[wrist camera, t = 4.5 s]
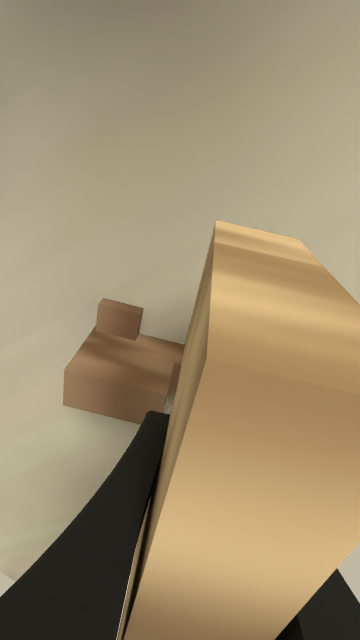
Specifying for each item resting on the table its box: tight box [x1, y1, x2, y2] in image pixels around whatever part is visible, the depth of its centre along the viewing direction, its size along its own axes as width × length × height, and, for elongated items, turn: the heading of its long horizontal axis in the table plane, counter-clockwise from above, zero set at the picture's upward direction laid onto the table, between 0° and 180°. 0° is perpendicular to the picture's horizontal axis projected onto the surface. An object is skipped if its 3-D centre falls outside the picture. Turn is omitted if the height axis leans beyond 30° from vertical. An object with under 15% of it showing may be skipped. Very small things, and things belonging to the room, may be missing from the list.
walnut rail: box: [63, 298, 185, 424], centre depth 18 cm, size 14×6×5 cm, turn 78°
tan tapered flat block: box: [117, 220, 360, 640], centre depth 9 cm, size 12×2×7 cm, turn 169°
